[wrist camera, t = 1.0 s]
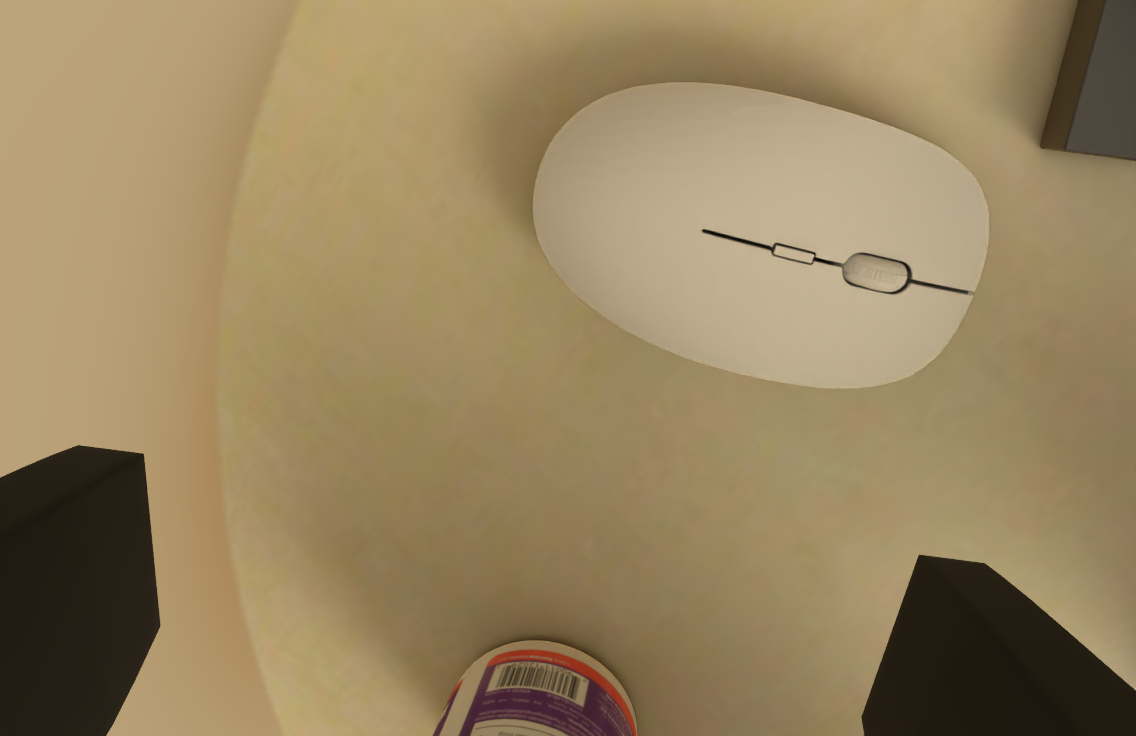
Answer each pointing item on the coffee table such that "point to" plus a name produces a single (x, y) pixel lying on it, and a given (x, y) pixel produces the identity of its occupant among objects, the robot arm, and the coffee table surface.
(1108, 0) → the scale
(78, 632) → the robot arm
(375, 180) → the coffee table surface
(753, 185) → the computer mouse
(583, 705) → the pill bottle
